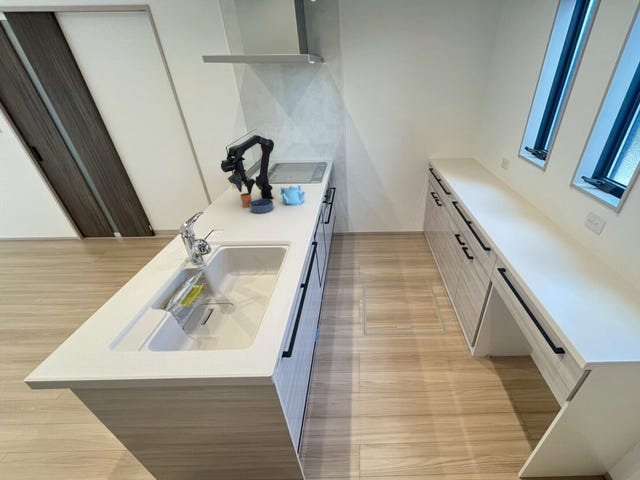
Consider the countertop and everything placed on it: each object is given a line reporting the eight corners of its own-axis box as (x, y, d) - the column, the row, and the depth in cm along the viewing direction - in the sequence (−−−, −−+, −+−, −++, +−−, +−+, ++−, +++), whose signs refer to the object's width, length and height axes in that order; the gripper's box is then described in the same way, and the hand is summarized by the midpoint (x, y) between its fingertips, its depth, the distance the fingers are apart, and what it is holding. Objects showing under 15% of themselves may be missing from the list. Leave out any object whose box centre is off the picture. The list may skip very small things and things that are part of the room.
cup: (251, 203, 209) (249, 192, 205) (254, 206, 204) (251, 194, 200) (242, 205, 206) (239, 194, 202) (244, 207, 201) (241, 196, 197)
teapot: (303, 197, 218) (301, 182, 212) (307, 204, 206) (305, 188, 200) (281, 200, 213) (278, 184, 208) (283, 207, 202) (281, 191, 196)
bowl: (270, 204, 206) (268, 197, 204) (276, 210, 196) (275, 203, 194) (248, 208, 200) (247, 201, 198) (254, 215, 190) (252, 208, 188)
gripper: (218, 169, 191) (225, 194, 199) (237, 173, 182) (244, 199, 191) (234, 165, 198) (240, 189, 207) (253, 169, 190) (258, 194, 198)
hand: (245, 193), depth 201 cm, fingers open, 9 cm apart
